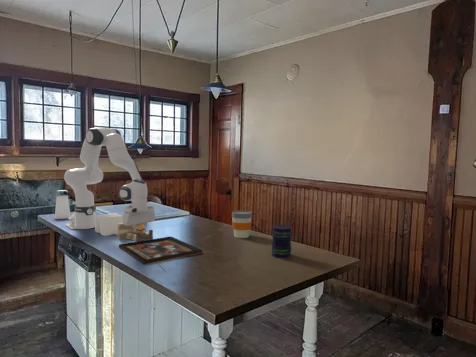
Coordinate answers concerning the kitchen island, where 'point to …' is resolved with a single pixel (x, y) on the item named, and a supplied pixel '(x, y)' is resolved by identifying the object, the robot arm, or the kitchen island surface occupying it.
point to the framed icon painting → (159, 249)
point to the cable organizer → (108, 223)
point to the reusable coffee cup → (241, 223)
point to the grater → (62, 207)
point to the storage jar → (281, 241)
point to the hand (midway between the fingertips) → (139, 230)
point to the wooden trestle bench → (132, 233)
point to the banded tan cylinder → (140, 228)
